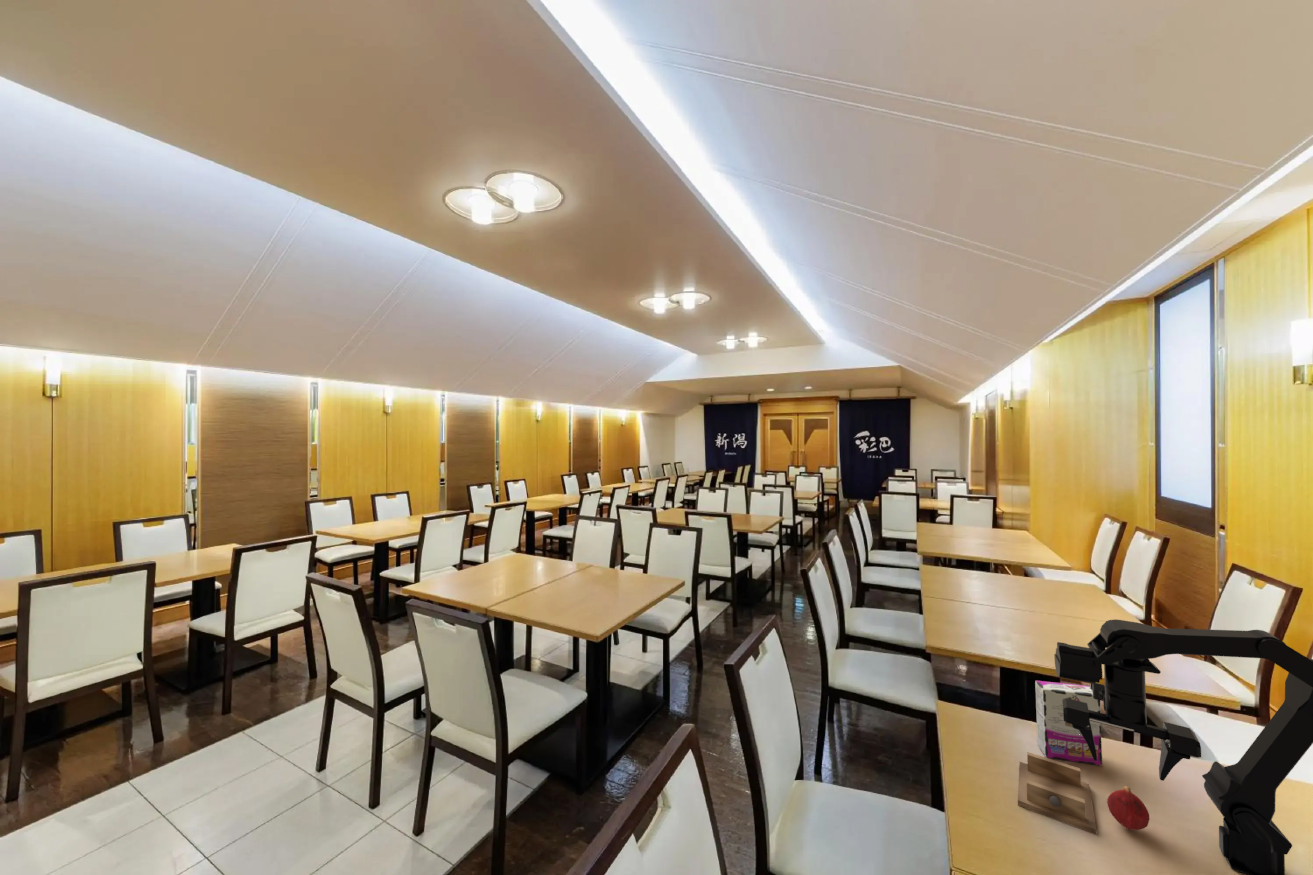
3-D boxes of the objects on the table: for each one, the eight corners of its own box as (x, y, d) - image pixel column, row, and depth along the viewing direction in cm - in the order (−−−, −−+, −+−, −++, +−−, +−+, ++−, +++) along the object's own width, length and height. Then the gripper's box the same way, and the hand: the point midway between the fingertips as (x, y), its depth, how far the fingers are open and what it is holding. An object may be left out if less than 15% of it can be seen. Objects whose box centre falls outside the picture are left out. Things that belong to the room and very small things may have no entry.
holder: (1089, 788, 103) (1088, 767, 103) (1096, 834, 91) (1095, 810, 91) (1019, 765, 110) (1019, 746, 110) (1017, 804, 99) (1017, 783, 99)
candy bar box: (1090, 753, 114) (1089, 684, 115) (1103, 766, 110) (1101, 695, 110) (1035, 744, 118) (1034, 678, 118) (1045, 757, 113) (1044, 688, 113)
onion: (1158, 843, 89) (1157, 800, 89) (1122, 838, 90) (1121, 796, 90) (1134, 819, 95) (1133, 778, 95) (1100, 814, 96) (1099, 775, 96)
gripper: (1185, 686, 93) (1187, 766, 93) (1060, 660, 105) (1062, 731, 104) (1200, 711, 84) (1203, 800, 84) (1062, 680, 96) (1065, 758, 96)
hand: (1127, 769), depth 92 cm, fingers open, 9 cm apart
